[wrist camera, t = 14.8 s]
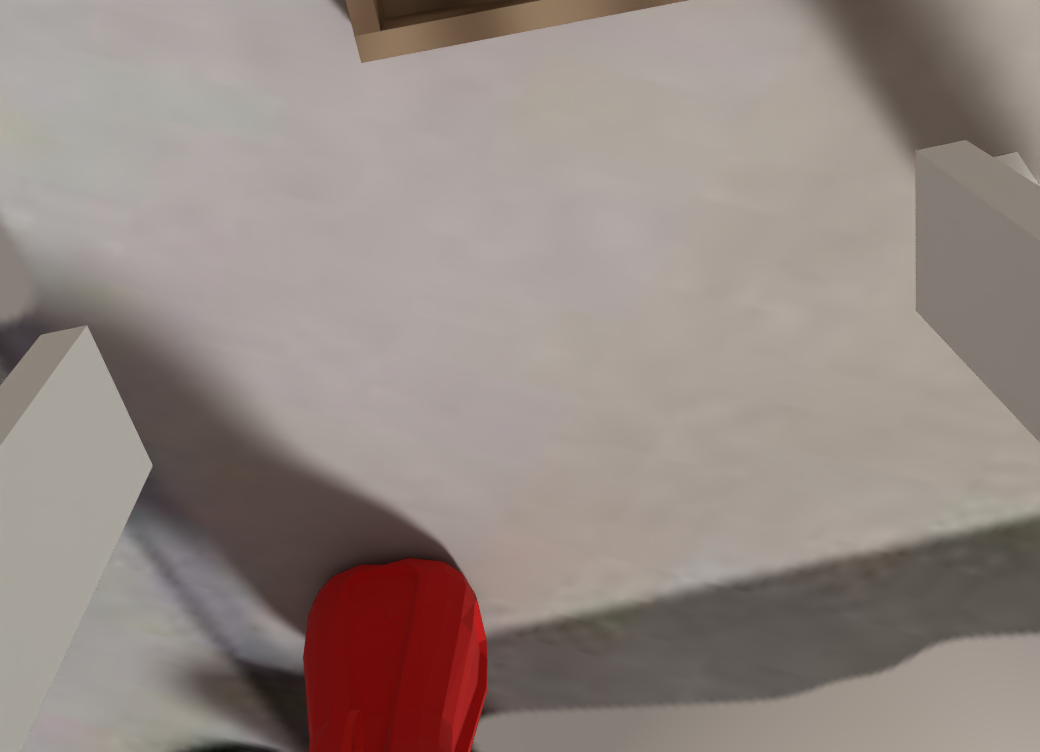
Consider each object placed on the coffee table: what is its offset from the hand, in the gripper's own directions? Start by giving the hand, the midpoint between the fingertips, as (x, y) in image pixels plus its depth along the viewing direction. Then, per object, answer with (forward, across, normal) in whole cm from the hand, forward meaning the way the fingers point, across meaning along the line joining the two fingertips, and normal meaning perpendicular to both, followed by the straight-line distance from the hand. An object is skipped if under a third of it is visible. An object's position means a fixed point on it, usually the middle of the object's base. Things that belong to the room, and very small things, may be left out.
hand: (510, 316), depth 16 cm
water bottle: (+29, -11, -30) cm, 43 cm away
